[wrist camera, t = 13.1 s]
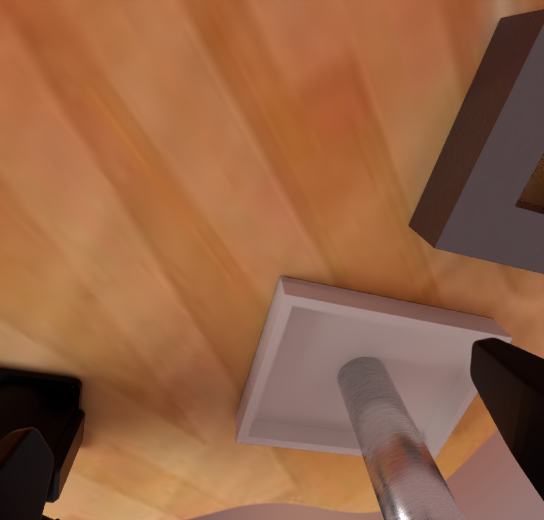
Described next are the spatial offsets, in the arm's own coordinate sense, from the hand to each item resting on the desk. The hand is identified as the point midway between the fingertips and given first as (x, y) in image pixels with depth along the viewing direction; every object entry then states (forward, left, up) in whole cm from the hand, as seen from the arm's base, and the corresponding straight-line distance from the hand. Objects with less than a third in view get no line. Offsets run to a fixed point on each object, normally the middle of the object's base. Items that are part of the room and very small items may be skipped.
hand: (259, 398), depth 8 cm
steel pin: (+10, -9, -12) cm, 18 cm away
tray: (+10, -9, -13) cm, 19 cm away
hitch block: (+14, +6, -13) cm, 20 cm away
